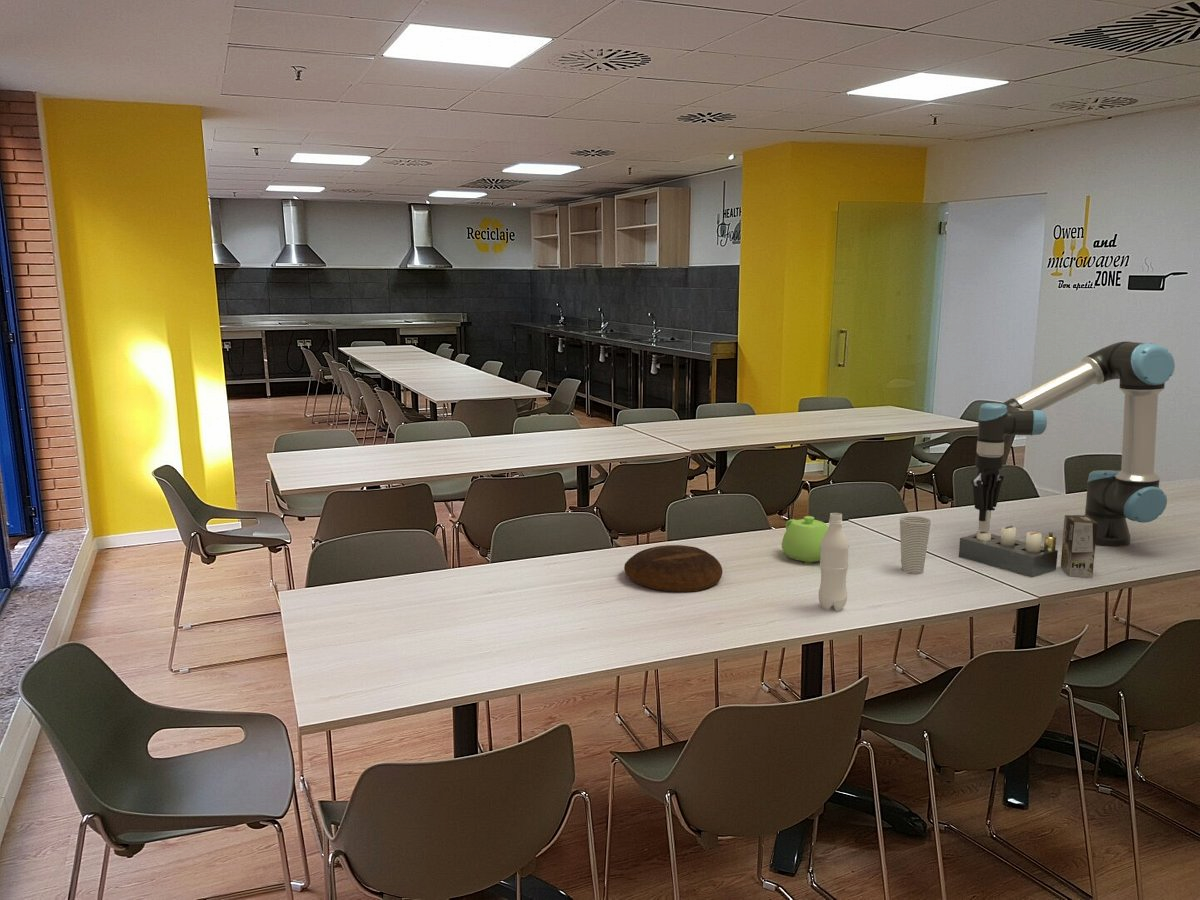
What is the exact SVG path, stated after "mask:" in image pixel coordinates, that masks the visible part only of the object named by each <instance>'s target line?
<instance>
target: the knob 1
mask: <svg viewBox="0 0 1200 900" xmlns="http://www.w3.org/2000/svg"><path fill="white" fill-rule="evenodd" d="M976 534H977V539H980V540H984V541H988V540H991V534H992V532H991V531H989V532H983V531H979V530H978V531H976Z"/></svg>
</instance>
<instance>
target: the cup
mask: <svg viewBox="0 0 1200 900" xmlns="http://www.w3.org/2000/svg"><path fill="white" fill-rule="evenodd" d="M931 522H932V520H931V519H929V518H928V517H924V516H917V515H906V516H905V515H904V516H901V517H900V518H899V530H900V531H899V533H900V536H899V537H900V556H901V559H900V561H901V562H900V563H901V571H902V572H904V573H907V574H913V575H918V574H922V573H923V572H924V567H925V564H926V563H925V561H926V558H927V557H926V555H927V549H928V542H929V536H930V530H931Z"/></svg>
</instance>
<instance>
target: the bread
mask: <svg viewBox="0 0 1200 900" xmlns="http://www.w3.org/2000/svg"><path fill="white" fill-rule="evenodd" d="M623 568H624V572H625V575H626V576H627V577H628V578H629V579H631V581H633V582H635V583H636V584H638V585H640V586H643V587H646V588H649V589H652V588H653V589H652V590H656V589H657V591H661V590H664V591H663V592H673V591H681V592H680V593H682V592H683V593H687V592H686V591H688V592H697V591H703V590H705V589H709V588H711V587H713V586H715V585H716V584H717V583H719V581H721V579H722V576H723V566H722V565H721V563H720V561H719V560H718V559H717V558H716V557H715V556H714V555H712V554H711V553H709V552H707V551H706V550H704V549H701V548H699V547H696V546H688V545H682V544H680V545H679V544H671V545H669V544H667V545H658V546H654V547H653V546H652V547H649V548H646V549H643V550H640V551H639V552H636V553H634V555H632V556H631V557H630V558H628V559H627V560H626V562H625V563H624V567H623Z"/></svg>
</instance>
